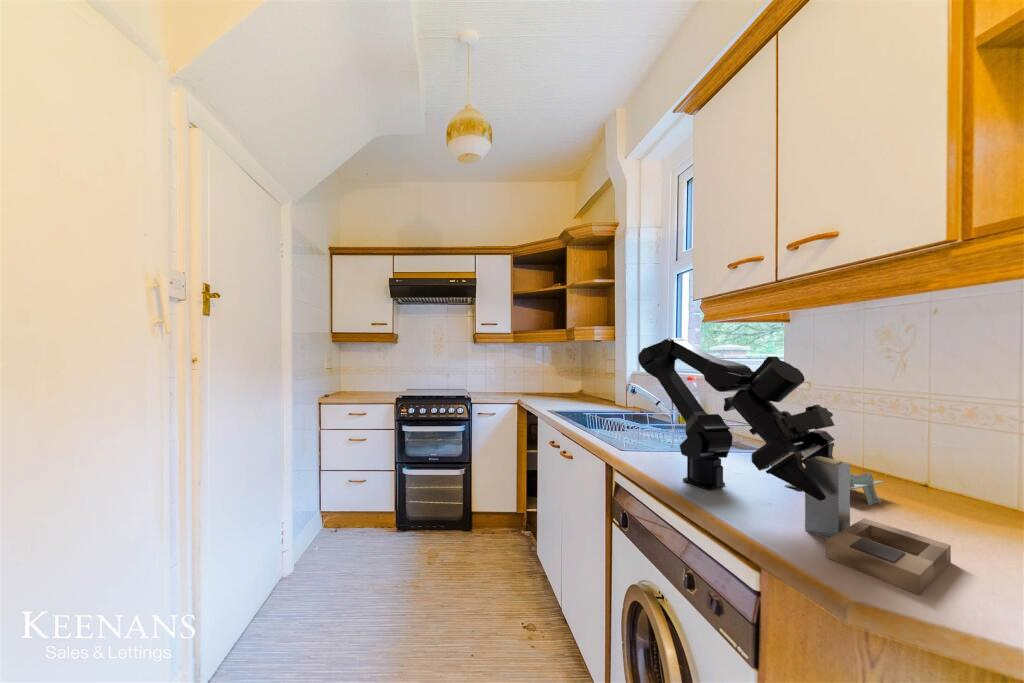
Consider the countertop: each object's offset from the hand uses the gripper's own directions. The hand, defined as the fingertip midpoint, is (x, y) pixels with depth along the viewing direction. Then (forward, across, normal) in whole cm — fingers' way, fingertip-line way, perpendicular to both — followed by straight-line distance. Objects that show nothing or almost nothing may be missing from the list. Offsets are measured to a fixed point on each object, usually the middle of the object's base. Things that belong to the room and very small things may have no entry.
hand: (835, 494), depth 60 cm
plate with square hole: (+10, -2, 0) cm, 10 cm away
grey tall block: (+4, 0, +6) cm, 7 cm away
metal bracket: (0, +25, +11) cm, 27 cm away
